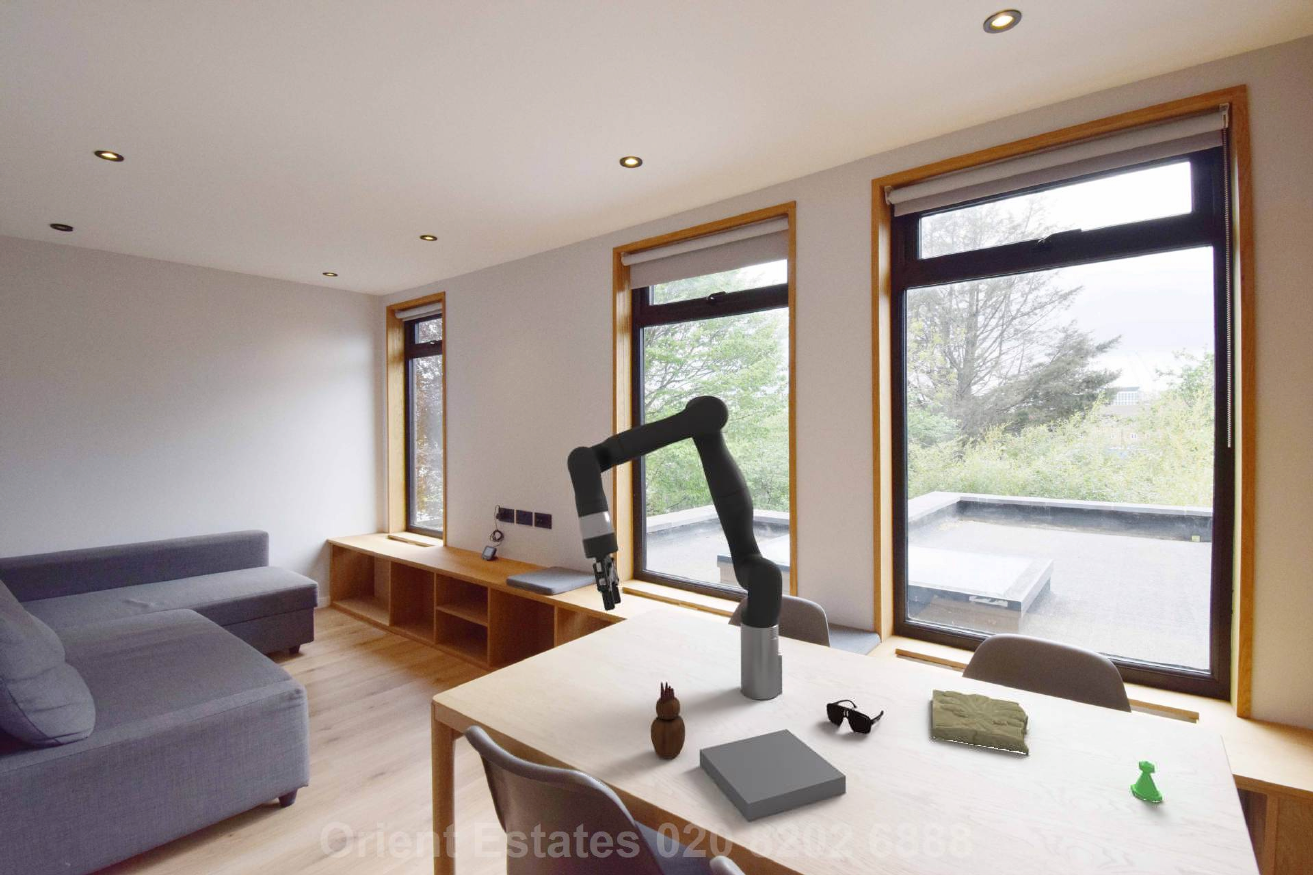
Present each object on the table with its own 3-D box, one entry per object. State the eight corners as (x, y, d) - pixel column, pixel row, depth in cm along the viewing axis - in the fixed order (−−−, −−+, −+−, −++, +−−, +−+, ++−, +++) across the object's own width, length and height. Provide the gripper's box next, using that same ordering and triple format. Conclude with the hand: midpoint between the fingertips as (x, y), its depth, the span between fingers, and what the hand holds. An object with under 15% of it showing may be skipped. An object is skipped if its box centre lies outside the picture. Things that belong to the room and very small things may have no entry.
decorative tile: (932, 739, 123) (932, 723, 123) (932, 700, 142) (932, 685, 141) (1037, 760, 115) (1037, 742, 115) (1023, 715, 134) (1023, 699, 134)
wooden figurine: (660, 765, 114) (659, 688, 114) (646, 751, 119) (646, 677, 119) (690, 756, 117) (689, 681, 117) (676, 742, 122) (675, 670, 122)
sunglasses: (821, 723, 130) (823, 699, 131) (846, 711, 139) (847, 689, 139) (868, 740, 123) (869, 715, 123) (891, 726, 132) (892, 703, 132)
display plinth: (786, 743, 122) (786, 728, 121) (845, 792, 105) (845, 775, 105) (699, 764, 114) (699, 749, 114) (748, 821, 97) (748, 803, 97)
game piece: (1124, 786, 106) (1124, 753, 106) (1150, 788, 105) (1150, 754, 105) (1141, 801, 102) (1141, 767, 102) (1168, 803, 101) (1169, 768, 101)
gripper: (608, 531, 125) (625, 608, 123) (619, 529, 139) (634, 598, 137) (574, 539, 126) (590, 616, 124) (588, 536, 140) (603, 605, 138)
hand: (613, 606), depth 130 cm, fingers open, 8 cm apart
